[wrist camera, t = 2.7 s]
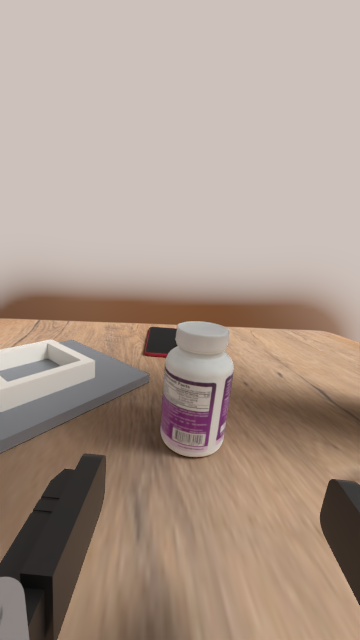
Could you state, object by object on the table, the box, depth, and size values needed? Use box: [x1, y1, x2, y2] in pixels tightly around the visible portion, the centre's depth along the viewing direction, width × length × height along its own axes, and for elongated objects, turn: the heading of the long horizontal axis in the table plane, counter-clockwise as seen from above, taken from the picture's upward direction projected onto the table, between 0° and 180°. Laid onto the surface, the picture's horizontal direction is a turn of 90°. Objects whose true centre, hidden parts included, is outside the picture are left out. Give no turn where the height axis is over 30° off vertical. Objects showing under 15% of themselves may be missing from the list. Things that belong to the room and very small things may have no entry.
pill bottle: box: [160, 321, 234, 457], centre depth 21 cm, size 5×5×10 cm
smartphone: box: [144, 327, 178, 357], centre depth 46 cm, size 7×1×15 cm
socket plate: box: [0, 340, 150, 453], centre depth 27 cm, size 19×16×3 cm
